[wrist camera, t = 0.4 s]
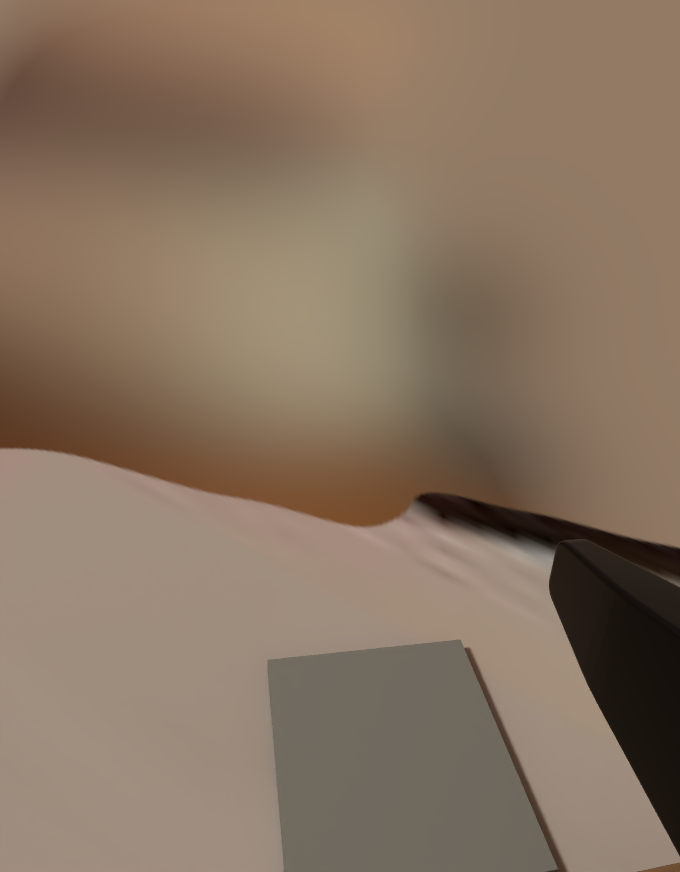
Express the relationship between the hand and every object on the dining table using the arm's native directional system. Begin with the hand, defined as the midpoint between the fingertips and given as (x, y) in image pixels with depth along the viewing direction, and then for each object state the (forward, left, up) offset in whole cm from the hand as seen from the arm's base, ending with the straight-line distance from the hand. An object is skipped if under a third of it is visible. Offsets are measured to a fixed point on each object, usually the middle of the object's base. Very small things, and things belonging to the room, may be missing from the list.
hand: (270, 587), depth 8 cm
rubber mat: (+6, -6, -18) cm, 20 cm away
